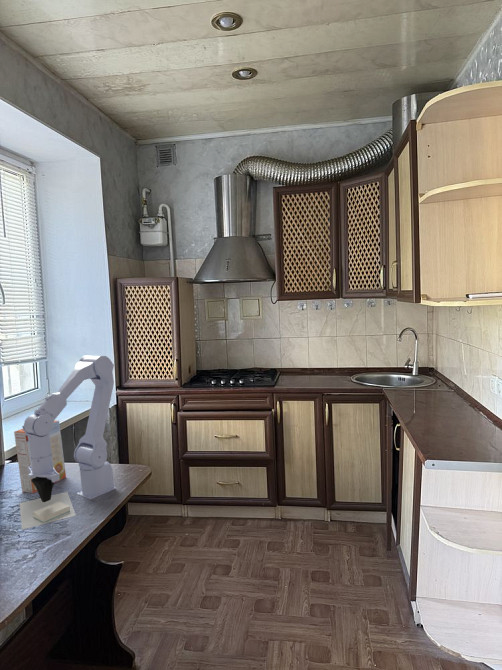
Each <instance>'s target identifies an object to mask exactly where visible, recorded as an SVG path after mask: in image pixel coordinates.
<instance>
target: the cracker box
mask: <svg viewBox="0 0 502 670" xmlns="http://www.w3.org/2000/svg"><path fill="white" fill-rule="evenodd" d="M60 425H61V424H60V421H59V420H58V419H55V420H54V422H53V428H52V430H51V431H50V432H49V434H50V443H51V451H52V460H53V467H54V469H55V470H56V472H57V473H59V477H60V480H59V481H56V482H54V484H55V483H58V482H60V481H61V480H64V479H66V477H67V474H66V473H67V471H66V468H65V467H66V466H65V465H66V464H65V458H64V451H63V441H62V434H61V426H60ZM13 433H14V442H15V448H16V449H15V450H16V454H17V462H18V469H19V479H20V485H21V491H22V493H30V494H35V493H38V491H37V489H36V487H35V485H34V484H33V483H32V482H31V479H33V478H36V477H29V476H28V474H29V473H28V468H27V467H29V466H31V458H30V450H29V441H28V435H27V433H26V432H25V431H24V430H23V428H20V429H18V430H15V431H14V432H13Z"/></svg>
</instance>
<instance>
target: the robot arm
mask: <svg viewBox="0 0 502 670" xmlns="http://www.w3.org/2000/svg"><path fill="white" fill-rule="evenodd" d="M114 365H115V364H114V363H113V362H112V360H111V358H109V356H106V355H90V354H85V355H83V356H81V358H80V359H79V360H78V361H77V362H76V363H75V365H74V369H73V370H72V371H71V373H70V374H69V376H67V378H66V380H65V381H64V382H63V383H62V385H61V386H60V388H58V389H57V390H58V391H57V392H52V393H50V394H49V395H48V394H47V395H46V396H45V397H44V401H43V402H42V403H41V404H40V406H39V407H38V408H37V409H35V410H34V412H33V413H34V414H33V413H32V414H31V415H30V414H29V416H27V417H26V418H25V420H24V423H23V425H22V427H21V428H22V429H23V430H24V431H25V432H26V433H27V435H28V441H29V450H30V458H31V466H29V467H27V468H28V473H29V474H28V476H29V477H36V478H33V479H31V482H32V483H33V484H34V485H35V487H36V489H37V494H38V496H39V498H41V500H42V502H46V501H49V500H51V496H52V495H53V494H52V493H53V488H54V485H55V483H57V482H60V481H61V480H60V477H59V473H57V472H56V470H55V469H54V467H53V460H52V451H51V443H50V434H49V432H50V431H51V430H52V428H53V422H54V420H57V418H58V417H59V416H60V414H61V413H62V412H63V411H64V409H65V408H66V406H67V404H68V402H67V399H68V398H69V397H70V396H71V395H72V394H73V393H74V392H75V390H76V389H77V388H78V387H79V386H80V385H81V384H82V383H83V382H84V381H86V380H91V382H92V383H93V384H94V385H95V386H94V387H95V388H94V391H93V397H92V401H91V406H90V411H89V415H88V419H87V425H86V429H85V434H84V435H82V437H81V438H80V439H78V444H77V445H76V448H75V449H74V452H73V459H74V460H75V462H77V463H78V466H79V472H80V473H79V474H80V482H81V483H80V484H81V491H79V492H76V495H77V496H80V497H83V498H85V499H88V500H92V499H95V498H97V497H99V496H102V495H104V494H107V493H109V492H111V491H114V490H116V489H117V488H116V487H115V481H114V480H115V479H114V474H113V473H114V471H113V467H112V465H111V463H110V462H109V461H107V459H108V452H107V447H108V443H107V441H106V440H105V438H104V433H105V428H106V425H107V419H108V413H109V409H110V405H111V404H110V403H111V401H112V400H111V399H112V394H113V389H114V383H115V380H114V372H113V370H114ZM59 480H60V481H59ZM56 481H57V482H56ZM54 482H55V483H54Z"/></svg>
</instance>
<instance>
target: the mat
mask: <svg viewBox="0 0 502 670" xmlns="http://www.w3.org/2000/svg"><path fill="white" fill-rule="evenodd" d="M56 502H61V503H64V504H66V505H68V506H70V511H69V512H67V513H65V514H63V515H60V516H58V517H56V518H54V519H51V520H49V521H47V522H42V521H40V520H37V519H35V518H33V512H34V511H37V510H39V509H42V508H44V507H46V506H49V505H51V504H54V503H56ZM19 511H20V522H21V523H20V524H21V530H26V529H30V528H33V527H38V526H42V525H45V524H49V523H53V522H56V521H61V520H65V519H69V518H71V517H77V515H76V511H75V510H74V507H73V504H72V501H71V498H70V496H69V493H68V491H65V492H61V493H57V494H51V500H49V501H46V502H42V500H41V498H40V497H39V498H35V499H32V500H31V499H30V500H28V501H23V502H19Z"/></svg>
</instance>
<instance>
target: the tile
mask: <svg viewBox="0 0 502 670" xmlns="http://www.w3.org/2000/svg"><path fill="white" fill-rule="evenodd" d="M69 511H70V506H68V505H66V504H64V503H61V502H56V503H54V504H51V505H49V506H46V507H44V508H42V509H39V510H37V511H34V512H33V518H35V519H37V520H40V521H42V522H47V521H49V520H51V519H54V518H56V517H58V516H60V515H63V514H65V513H67V512H69Z"/></svg>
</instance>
